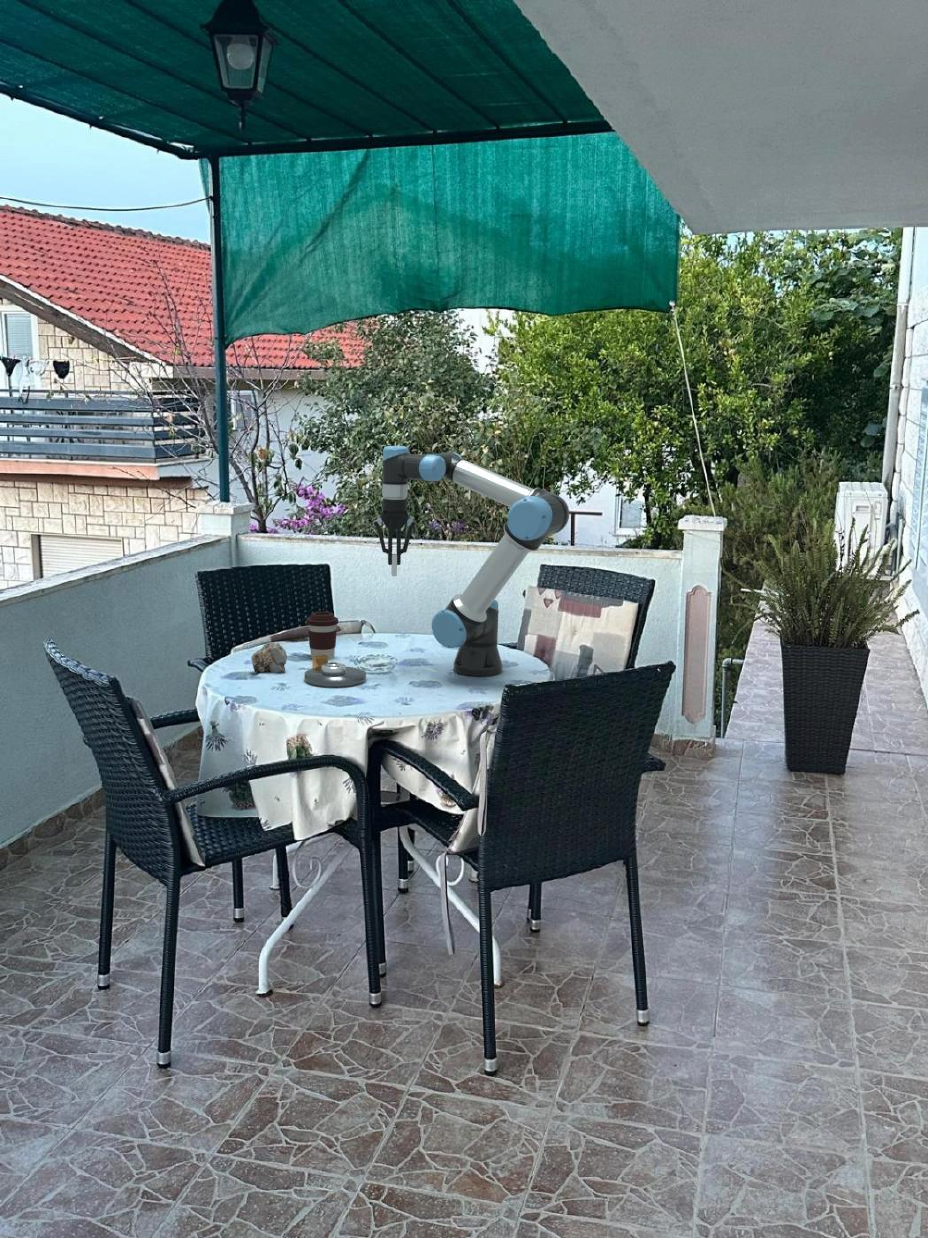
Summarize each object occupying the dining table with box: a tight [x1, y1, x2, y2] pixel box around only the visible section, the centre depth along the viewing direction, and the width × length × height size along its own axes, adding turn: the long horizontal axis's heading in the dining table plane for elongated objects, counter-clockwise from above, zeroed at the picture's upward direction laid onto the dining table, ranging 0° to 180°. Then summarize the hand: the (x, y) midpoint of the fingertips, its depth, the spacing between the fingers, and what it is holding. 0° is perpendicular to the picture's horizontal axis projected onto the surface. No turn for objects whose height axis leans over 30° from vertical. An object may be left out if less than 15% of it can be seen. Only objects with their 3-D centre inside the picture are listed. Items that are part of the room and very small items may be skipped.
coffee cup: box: [306, 611, 339, 661], centre depth 368 cm, size 10×10×15 cm
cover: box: [322, 661, 347, 677], centre depth 341 cm, size 7×7×3 cm
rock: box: [250, 641, 288, 675], centre depth 351 cm, size 9×12×10 cm
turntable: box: [303, 655, 367, 689], centre depth 342 cm, size 18×21×5 cm
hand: (394, 575), depth 354 cm, fingers closed
